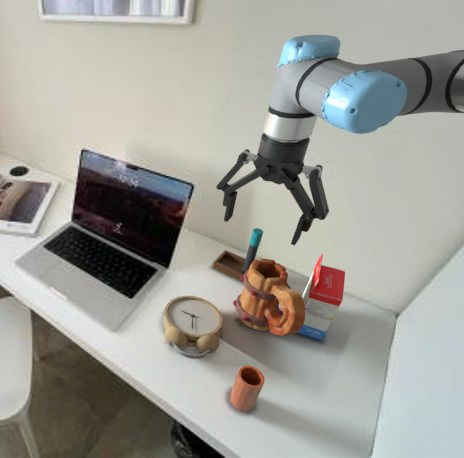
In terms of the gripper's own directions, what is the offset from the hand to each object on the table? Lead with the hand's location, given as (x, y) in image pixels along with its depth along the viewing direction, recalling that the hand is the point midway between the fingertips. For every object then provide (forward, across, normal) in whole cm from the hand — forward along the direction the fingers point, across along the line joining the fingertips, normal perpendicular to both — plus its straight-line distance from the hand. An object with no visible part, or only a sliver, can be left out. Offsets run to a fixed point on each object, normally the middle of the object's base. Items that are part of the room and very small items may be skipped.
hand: (259, 229), depth 76 cm
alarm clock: (+14, +2, +22) cm, 27 cm away
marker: (+13, 0, 0) cm, 13 cm away
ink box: (+14, -14, +5) cm, 21 cm away
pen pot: (+14, -11, +30) cm, 35 cm away
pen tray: (+14, 0, 0) cm, 14 cm away
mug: (+14, -8, +13) cm, 21 cm away
